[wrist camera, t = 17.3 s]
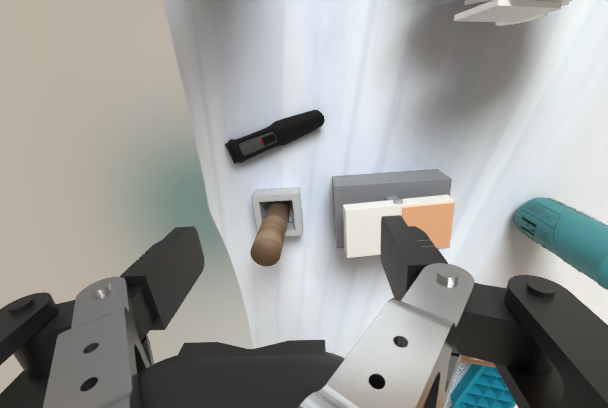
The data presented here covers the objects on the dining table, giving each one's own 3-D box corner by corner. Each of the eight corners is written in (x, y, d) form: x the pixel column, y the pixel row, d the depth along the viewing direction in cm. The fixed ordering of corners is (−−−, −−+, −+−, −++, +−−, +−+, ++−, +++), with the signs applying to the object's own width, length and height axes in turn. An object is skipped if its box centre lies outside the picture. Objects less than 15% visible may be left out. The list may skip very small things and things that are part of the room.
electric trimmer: (327, 128, 42) (328, 131, 39) (235, 164, 44) (229, 169, 42) (319, 103, 41) (319, 104, 38) (224, 141, 43) (218, 145, 40)
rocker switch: (342, 202, 37) (346, 209, 35) (447, 192, 37) (457, 198, 35) (344, 251, 40) (347, 260, 38) (442, 242, 40) (450, 250, 38)
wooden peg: (267, 198, 46) (248, 241, 33) (289, 196, 46) (278, 239, 33) (270, 217, 47) (253, 266, 35) (291, 216, 47) (281, 265, 34)
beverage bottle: (502, 204, 44) (631, 286, 26) (546, 184, 43) (717, 256, 24) (514, 236, 46) (643, 333, 28) (556, 217, 45) (723, 307, 26)
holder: (255, 189, 46) (251, 196, 43) (299, 187, 45) (298, 193, 42) (261, 229, 48) (258, 237, 46) (303, 226, 48) (302, 235, 45)
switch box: (332, 176, 44) (334, 191, 38) (437, 169, 43) (458, 183, 36) (335, 232, 48) (337, 254, 41) (431, 227, 47) (449, 249, 40)
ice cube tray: (442, 398, 63) (448, 412, 60) (487, 334, 55) (496, 347, 52) (491, 409, 63) (499, 423, 61) (541, 347, 56) (553, 360, 53)
